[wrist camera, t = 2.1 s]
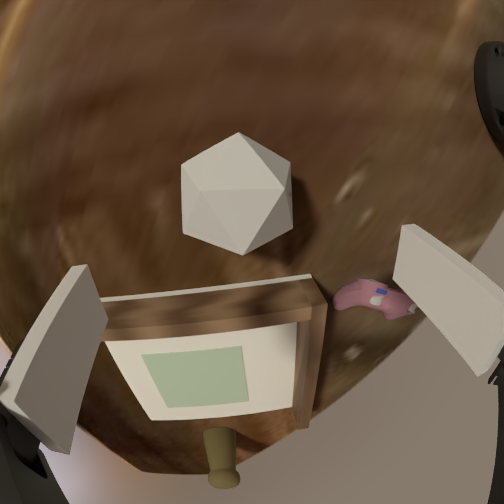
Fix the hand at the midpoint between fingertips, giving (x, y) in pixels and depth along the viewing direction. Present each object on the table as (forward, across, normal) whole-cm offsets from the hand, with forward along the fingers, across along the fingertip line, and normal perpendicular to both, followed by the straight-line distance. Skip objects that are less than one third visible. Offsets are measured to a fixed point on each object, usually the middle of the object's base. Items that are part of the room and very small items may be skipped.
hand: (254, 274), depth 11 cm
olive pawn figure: (+15, +6, +42) cm, 45 cm away
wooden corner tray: (+15, +4, +22) cm, 27 cm away
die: (+15, 0, 0) cm, 15 cm away
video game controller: (+15, -15, +14) cm, 25 cm away
